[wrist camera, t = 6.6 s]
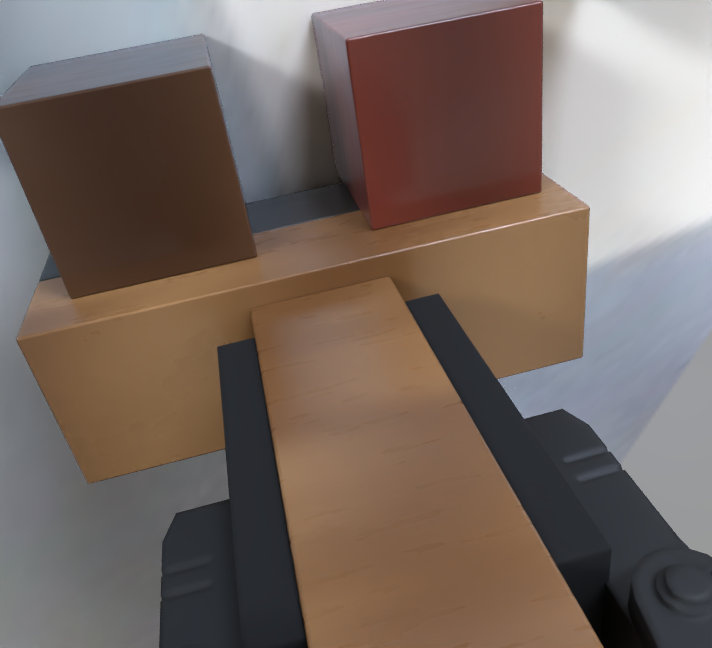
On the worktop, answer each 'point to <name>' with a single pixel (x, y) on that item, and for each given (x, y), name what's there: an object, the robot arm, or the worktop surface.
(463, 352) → the robot arm
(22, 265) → the worktop surface
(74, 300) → the wooden t-shaped block
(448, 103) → the mahogany block
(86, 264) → the walnut block
